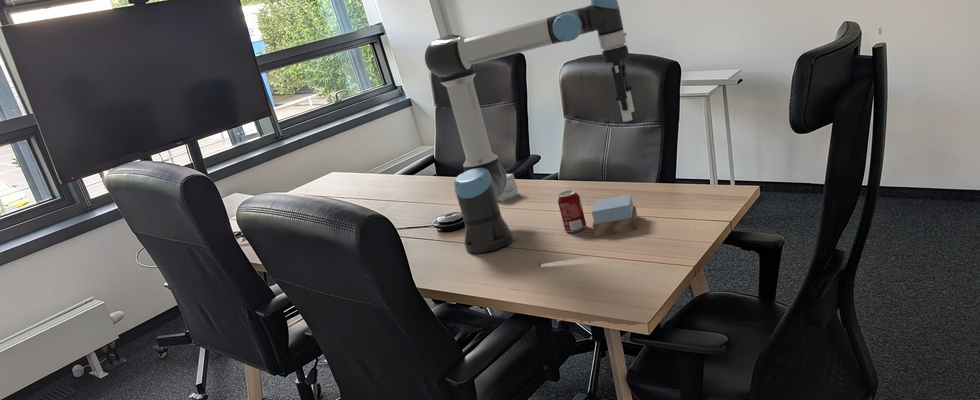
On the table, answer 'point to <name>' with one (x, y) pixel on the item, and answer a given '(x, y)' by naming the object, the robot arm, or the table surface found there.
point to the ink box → (508, 189)
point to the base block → (616, 226)
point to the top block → (612, 209)
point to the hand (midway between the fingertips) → (629, 116)
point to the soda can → (571, 211)
